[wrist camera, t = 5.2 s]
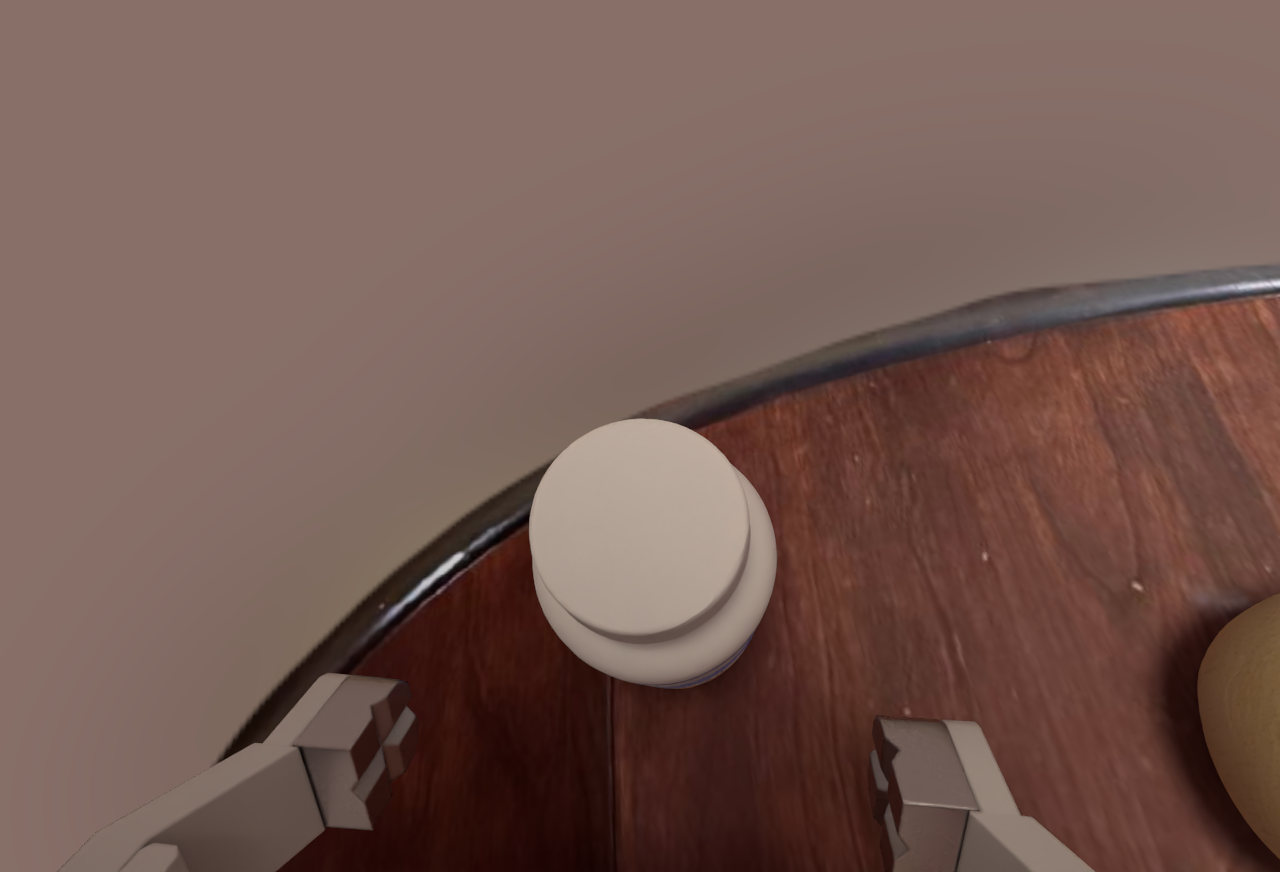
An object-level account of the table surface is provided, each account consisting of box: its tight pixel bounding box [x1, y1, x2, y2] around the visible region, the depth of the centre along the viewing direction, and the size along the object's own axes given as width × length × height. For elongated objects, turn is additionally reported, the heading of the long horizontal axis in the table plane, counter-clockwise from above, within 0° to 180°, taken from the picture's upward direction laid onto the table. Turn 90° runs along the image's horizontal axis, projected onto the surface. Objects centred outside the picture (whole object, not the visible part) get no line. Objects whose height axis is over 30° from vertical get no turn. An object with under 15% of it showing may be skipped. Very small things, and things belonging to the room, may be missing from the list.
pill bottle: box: [529, 419, 777, 689], centre depth 15 cm, size 5×5×10 cm
